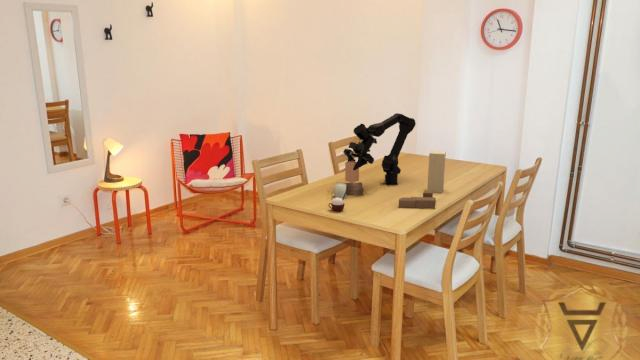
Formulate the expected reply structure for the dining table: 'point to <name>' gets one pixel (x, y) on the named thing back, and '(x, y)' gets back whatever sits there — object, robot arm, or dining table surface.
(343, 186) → the grey green canister
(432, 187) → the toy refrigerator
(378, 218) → the dining table surface
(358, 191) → the walnut slab
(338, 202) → the cocoa
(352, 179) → the terracotta block
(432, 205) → the wooden block set
